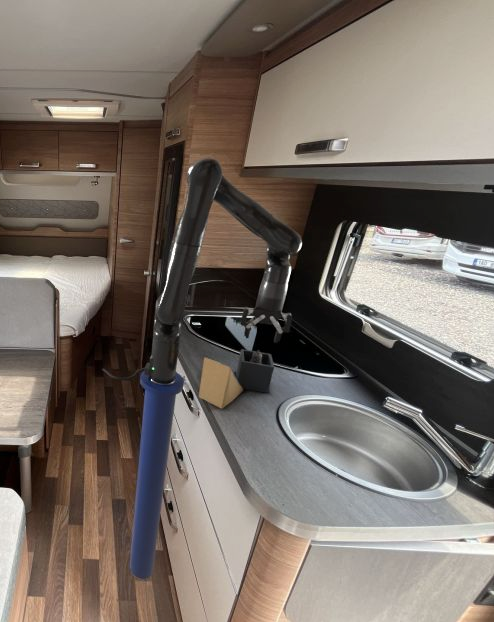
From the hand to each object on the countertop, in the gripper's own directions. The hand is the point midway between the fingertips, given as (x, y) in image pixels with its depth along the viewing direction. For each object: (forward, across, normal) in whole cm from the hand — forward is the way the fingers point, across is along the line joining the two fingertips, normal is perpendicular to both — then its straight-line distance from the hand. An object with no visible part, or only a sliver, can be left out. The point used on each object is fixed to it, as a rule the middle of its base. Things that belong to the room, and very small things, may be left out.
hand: (260, 339), depth 112 cm
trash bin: (+17, 0, 0) cm, 17 cm away
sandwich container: (+17, +9, +11) cm, 22 cm away
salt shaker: (+16, 0, 0) cm, 16 cm away
